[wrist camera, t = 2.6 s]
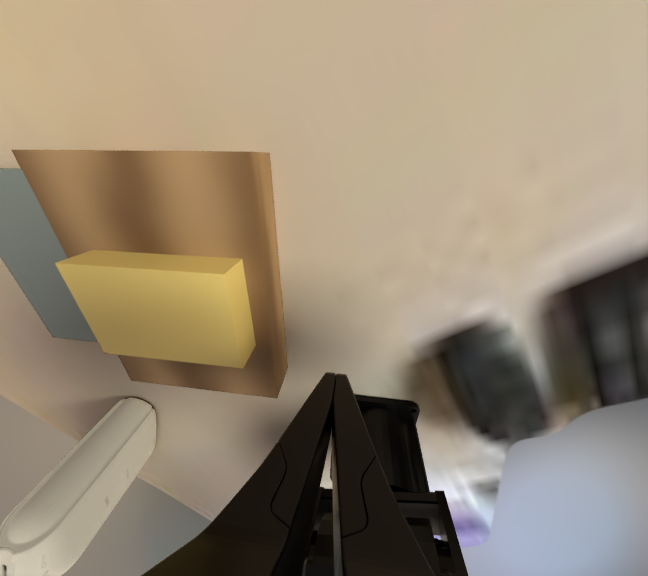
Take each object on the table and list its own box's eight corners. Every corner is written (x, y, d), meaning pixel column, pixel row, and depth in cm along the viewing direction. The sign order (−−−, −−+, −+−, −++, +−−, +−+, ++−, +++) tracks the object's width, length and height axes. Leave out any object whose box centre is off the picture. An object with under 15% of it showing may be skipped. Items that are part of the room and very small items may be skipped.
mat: (82, 169, 15) (77, 169, 15) (154, 345, 22) (152, 347, 21) (-52, 167, 16) (-59, 167, 16) (56, 335, 23) (53, 337, 22)
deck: (269, 153, 13) (246, 151, 11) (287, 367, 21) (277, 398, 18) (74, 151, 14) (11, 149, 12) (158, 353, 22) (131, 380, 19)
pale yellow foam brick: (242, 258, 13) (223, 274, 11) (255, 345, 16) (243, 368, 14) (92, 249, 14) (54, 263, 12) (130, 332, 17) (104, 353, 15)
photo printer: (159, 450, 31) (50, 609, 20) (126, 439, 31) (-3, 594, 20) (161, 404, 26) (18, 581, 15) (122, 390, 26) (-53, 560, 15)
